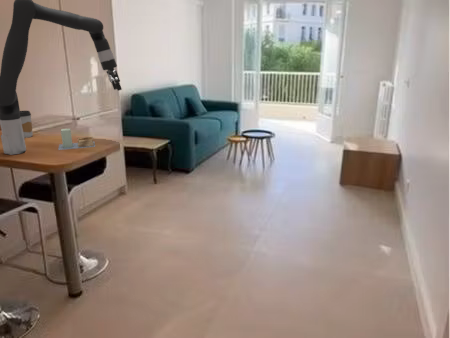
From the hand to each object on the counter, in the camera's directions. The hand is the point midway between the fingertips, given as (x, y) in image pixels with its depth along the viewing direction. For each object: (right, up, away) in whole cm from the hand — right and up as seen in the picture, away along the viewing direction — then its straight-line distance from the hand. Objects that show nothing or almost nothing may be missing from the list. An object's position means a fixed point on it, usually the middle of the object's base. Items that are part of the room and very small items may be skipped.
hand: (117, 89), depth 200 cm
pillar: (-25, -31, -4) cm, 40 cm away
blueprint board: (-21, -31, -2) cm, 38 cm away
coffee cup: (-61, -24, +22) cm, 69 cm away
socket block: (-17, -30, -1) cm, 34 cm away
